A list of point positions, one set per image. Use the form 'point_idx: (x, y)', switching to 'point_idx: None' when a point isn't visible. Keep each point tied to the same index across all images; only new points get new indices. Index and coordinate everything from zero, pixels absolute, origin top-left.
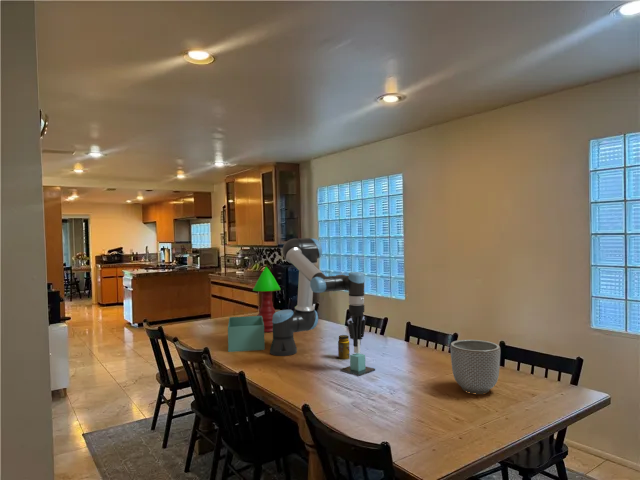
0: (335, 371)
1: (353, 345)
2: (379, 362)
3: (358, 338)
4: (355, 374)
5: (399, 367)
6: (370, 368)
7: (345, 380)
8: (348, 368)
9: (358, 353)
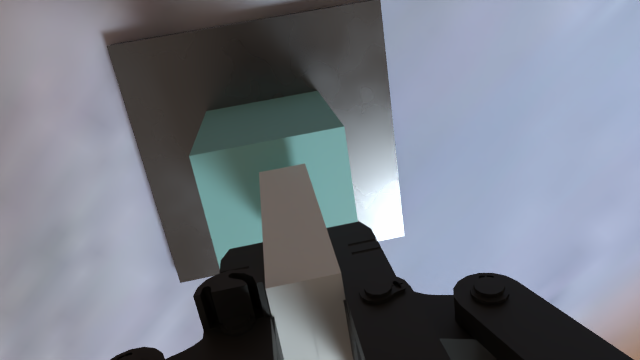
0: (55, 23)
1: (222, 259)
2: (614, 67)
3: (353, 358)
4: (169, 238)
5: (594, 274)
6: (377, 208)
7: (7, 296)
8: (204, 80)
9: (344, 158)
